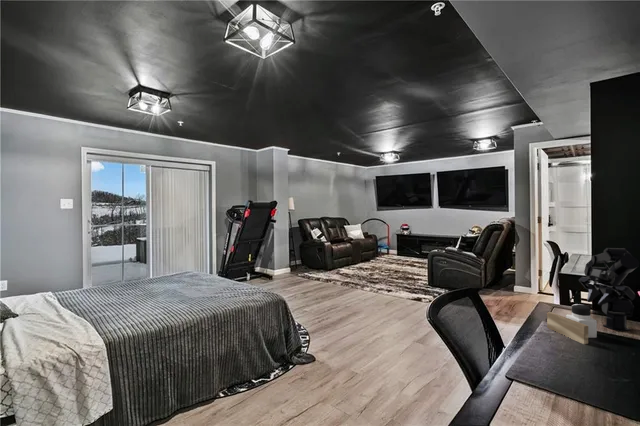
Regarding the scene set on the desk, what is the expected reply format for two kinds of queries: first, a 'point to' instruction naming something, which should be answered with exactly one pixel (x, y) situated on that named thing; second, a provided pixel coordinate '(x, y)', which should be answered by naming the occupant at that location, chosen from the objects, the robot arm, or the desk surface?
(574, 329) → the oak wall
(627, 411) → the desk surface
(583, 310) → the medicine bottle
